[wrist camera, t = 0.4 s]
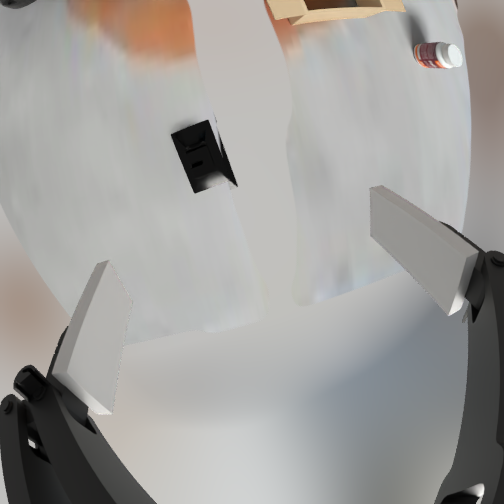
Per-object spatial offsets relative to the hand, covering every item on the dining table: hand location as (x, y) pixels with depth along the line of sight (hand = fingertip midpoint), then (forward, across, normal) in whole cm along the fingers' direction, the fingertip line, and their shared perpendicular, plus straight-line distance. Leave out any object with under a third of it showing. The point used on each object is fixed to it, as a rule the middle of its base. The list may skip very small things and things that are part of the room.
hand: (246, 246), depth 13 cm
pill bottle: (+28, +39, +12) cm, 49 cm away
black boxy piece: (+28, -2, 0) cm, 28 cm away
